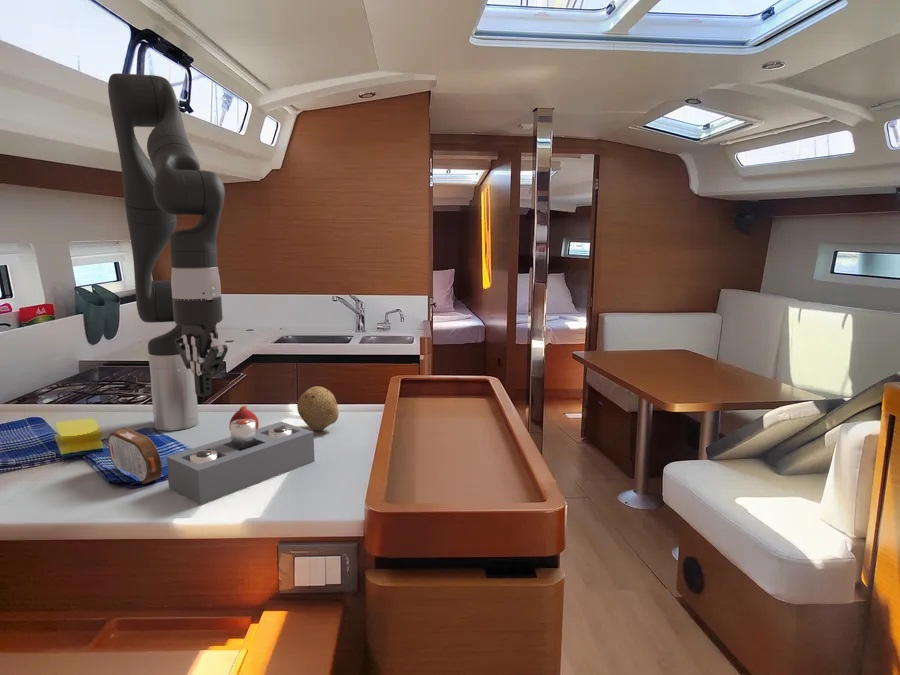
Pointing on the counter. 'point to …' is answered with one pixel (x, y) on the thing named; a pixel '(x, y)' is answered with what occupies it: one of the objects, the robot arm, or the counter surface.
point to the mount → (239, 464)
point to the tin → (135, 454)
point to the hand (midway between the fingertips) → (204, 395)
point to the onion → (244, 415)
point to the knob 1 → (203, 456)
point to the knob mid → (243, 433)
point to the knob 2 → (279, 432)
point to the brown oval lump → (318, 408)
